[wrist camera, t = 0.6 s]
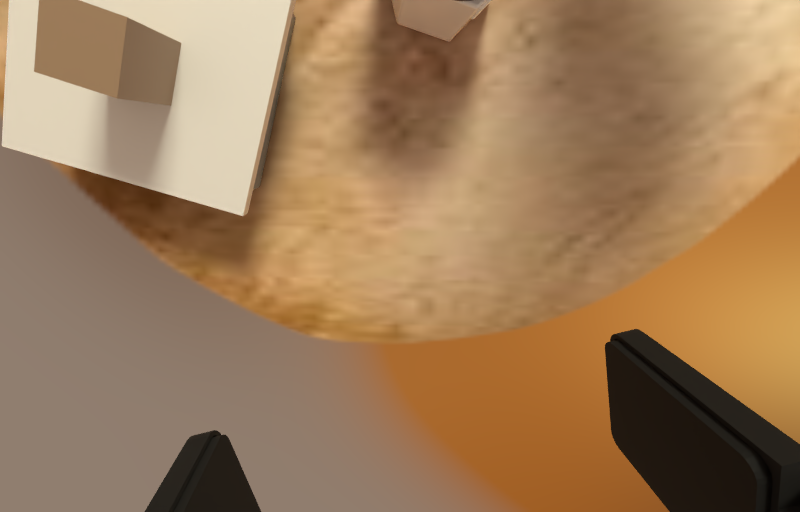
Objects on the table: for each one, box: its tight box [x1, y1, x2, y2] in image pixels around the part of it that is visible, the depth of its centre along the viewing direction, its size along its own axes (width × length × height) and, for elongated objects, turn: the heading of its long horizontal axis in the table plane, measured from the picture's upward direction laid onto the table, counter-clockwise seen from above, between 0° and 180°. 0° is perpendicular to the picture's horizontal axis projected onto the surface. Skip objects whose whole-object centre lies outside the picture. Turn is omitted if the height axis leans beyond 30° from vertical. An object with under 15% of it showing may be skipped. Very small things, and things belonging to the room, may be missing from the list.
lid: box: [2, 0, 296, 216], centre depth 23 cm, size 16×16×7 cm
